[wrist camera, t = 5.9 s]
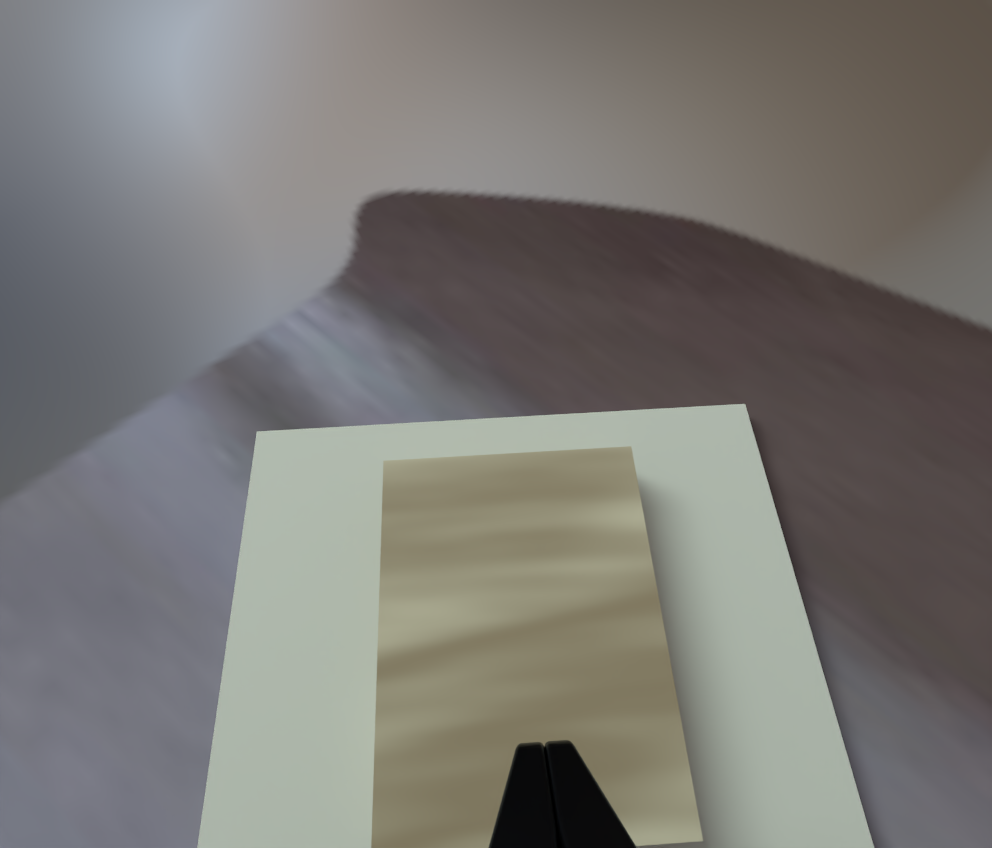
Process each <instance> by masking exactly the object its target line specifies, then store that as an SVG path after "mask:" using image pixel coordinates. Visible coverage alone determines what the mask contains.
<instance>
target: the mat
mask: <svg viewBox="0 0 992 848" xmlns="http://www.w3.org/2000/svg"><path fill="white" fill-rule="evenodd" d="M627 446H631V448H632V453H633V459H634V464H635V470H636V475H637V480H638V486H639V491H640V497H641V502H642V508H643V513H644V519H645V524H646V530H647V535H648V541H649V546H650V552H651V557H652V563H653V568H654V574H655V579H656V585H657V590H658V596H659V601H660V607H661V612H662V618H663V623H664V629H665V634H666V640H667V645H668V651H669V656H670V662H671V667H672V673H673V678H674V684H675V689H676V695H677V700H678V706H679V711H680V717H681V722H682V728H683V733H684V739H685V744H686V750H687V755H688V761H689V766H690V772H691V777H692V782H693V788H694V793H695V799H696V804H697V810H698V815H699V821H700V826H701V832H702V837H703V841H698V842H685V843H671V844H658V845H644V846H636V847H637V848H874V845H873V842H872V838H871V835H870V831H869V828H868V825H867V821H866V818H865V814H864V811H863V807H862V804H861V801H860V797H859V794H858V790H857V787H856V783H855V780H854V777H853V773H852V770H851V766H850V763H849V759H848V756H847V752H846V749H845V746H844V742H843V739H842V735H841V732H840V728H839V725H838V722H837V718H836V715H835V711H834V708H833V704H832V701H831V698H830V694H829V691H828V687H827V684H826V680H825V677H824V673H823V670H822V667H821V663H820V660H819V656H818V653H817V649H816V646H815V643H814V639H813V636H812V632H811V629H810V625H809V622H808V618H807V615H806V612H805V608H804V605H803V601H802V598H801V594H800V591H799V588H798V584H797V581H796V577H795V574H794V570H793V567H792V564H791V560H790V557H789V553H788V550H787V546H786V543H785V539H784V536H783V533H782V529H781V526H780V522H779V519H778V515H777V512H776V509H775V505H774V502H773V498H772V495H771V491H770V488H769V484H768V481H767V478H766V474H765V471H764V467H763V464H762V460H761V457H760V454H759V450H758V447H757V443H756V440H755V436H754V433H753V430H752V426H751V423H750V419H749V416H748V412H747V409H746V405H745V404H735V405H717V406H700V407H682V408H664V409H647V410H629V411H612V412H594V413H576V414H559V415H541V416H524V417H506V418H488V419H471V420H453V421H436V422H418V423H400V424H383V425H365V426H348V427H330V428H312V429H295V430H277V431H260V432H257V435H256V442H255V449H254V456H253V463H252V470H251V477H250V484H249V491H248V498H247V505H246V512H245V519H244V526H243V533H242V540H241V547H240V554H239V561H238V568H237V575H236V582H235V589H234V596H233V603H232V610H231V617H230V624H229V631H228V638H227V645H226V652H225V659H224V666H223V673H222V680H221V687H220V694H219V701H218V707H217V714H216V721H215V728H214V735H213V742H212V749H211V756H210V763H209V770H208V777H207V784H206V791H205V798H204V805H203V812H202V819H201V826H200V833H199V840H198V847H197V848H371V839H372V808H373V776H374V744H375V713H376V681H377V649H378V618H379V586H380V554H381V523H382V491H383V461H387V460H404V459H421V458H439V457H456V456H473V455H490V454H507V453H524V452H542V451H559V450H576V449H593V448H610V447H627Z"/></svg>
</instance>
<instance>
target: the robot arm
mask: <svg viewBox="0 0 992 848" xmlns="http://www.w3.org/2000/svg"><path fill="white" fill-rule="evenodd" d="M488 848H637V847H636V845H635V844H634V842H633V840H632V839H631V837H630V835H629V834H628V832H627V830H626V829H625V827H624V826H623V824H622V822H621V821H620V819H619V817H618V816H617V814H616V813H615V811H614V809H613V808H612V806H611V804H610V803H609V801H608V799H607V798H606V796H605V795H604V793H603V791H602V790H601V788H600V786H599V785H598V783H597V782H596V780H595V778H594V777H593V775H592V773H591V772H590V770H589V768H588V767H587V765H586V764H585V762H584V760H583V759H582V757H581V755H580V754H579V752H578V751H577V749H576V747H575V746H574V744H573V743H572V742H571V741H569V740H558V741H548V742H546V743H545V745H543V744H542V743H541V742H529V743H520V744H518V745H517V747H516V749H515V752H514V756H513V760H512V763H511V767H510V771H509V774H508V778H507V782H506V785H505V789H504V793H503V796H502V800H501V804H500V807H499V811H498V814H497V818H496V822H495V825H494V829H493V833H492V836H491V840H490V844H489V847H488Z"/></svg>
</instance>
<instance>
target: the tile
mask: <svg viewBox="0 0 992 848" xmlns="http://www.w3.org/2000/svg"><path fill="white" fill-rule="evenodd" d="M558 740H569V741H571V742H572V743H573V744H574V746H575V747H576V749H577V751H578V752H579V754H580V755H581V757H582V759H583V760H584V762H585V764H586V765H587V767H588V768H589V770H590V772H591V773H592V775H593V777H594V778H595V780H596V782H597V783H598V785H599V786H600V788H601V790H602V791H603V793H604V795H605V796H606V798H607V799H608V801H609V803H610V804H611V806H612V808H613V809H614V811H615V813H616V814H617V816H618V817H619V819H620V821H621V822H622V824H623V826H624V827H625V829H626V830H627V832H628V834H629V835H630V837H631V839H632V840H633V842H634V844H635V845H636V846H644V845H658V844H671V843H685V842H698V841H703V837H702V832H701V826H700V821H699V815H698V810H697V804H696V799H695V793H694V788H693V782H692V777H691V772H690V766H689V761H688V755H687V750H686V744H685V739H684V733H683V728H682V722H681V717H680V711H679V706H678V700H677V695H676V689H675V684H674V678H673V673H672V667H671V662H670V656H669V651H668V645H667V640H666V634H665V629H664V623H663V618H662V612H661V607H660V601H659V596H658V590H657V585H656V579H655V574H654V568H653V563H652V557H651V552H650V546H649V541H648V535H647V530H646V524H645V519H644V513H643V508H642V502H641V497H640V491H639V486H638V480H637V475H636V470H635V464H634V459H633V453H632V448H631V446H627V447H610V448H593V449H576V450H559V451H542V452H524V453H507V454H490V455H473V456H456V457H439V458H421V459H404V460H387V461H383V491H382V523H381V554H380V586H379V618H378V649H377V681H376V713H375V744H374V776H373V808H372V839H371V848H488V847H489V844H490V840H491V836H492V833H493V829H494V825H495V822H496V818H497V814H498V811H499V807H500V804H501V800H502V796H503V793H504V789H505V785H506V782H507V778H508V774H509V771H510V767H511V763H512V760H513V756H514V752H515V749H516V747H517V745H518V744H520V743H529V742H541V743H542V744H543V745H545V743H546V742H548V741H558Z"/></svg>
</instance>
